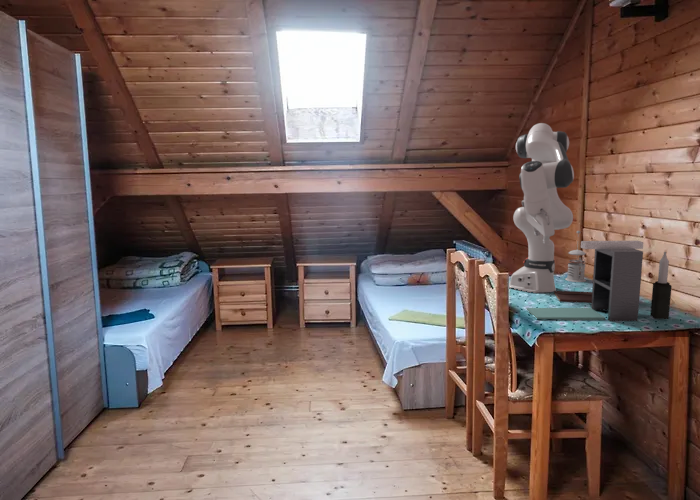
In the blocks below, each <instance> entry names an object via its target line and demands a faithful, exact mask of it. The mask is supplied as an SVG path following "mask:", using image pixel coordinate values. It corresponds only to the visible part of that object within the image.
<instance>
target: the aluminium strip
mask: <svg viewBox="0 0 700 500" xmlns="http://www.w3.org/2000/svg"><path fill="white" fill-rule="evenodd" d="M580 248H581V249H583V250H595V249H637V250H643V249H644V241H641V240H581V241H580Z"/></svg>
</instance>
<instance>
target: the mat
mask: <svg viewBox="0 0 700 500" xmlns="http://www.w3.org/2000/svg"><path fill="white" fill-rule="evenodd" d="M525 309H527V310H528V311H529V312H530V313H531V314H532V315H534V316H535V317H536V318H537V319H561V320H560V321H605V320H606V317H605V315H602V314H601V313H599V312H597V310H593V309H591V307H526V308H525ZM528 311H527V312H528ZM529 312H528V313H529ZM530 313H529V314H530ZM531 314H530V315H531ZM532 315H531V316H532ZM562 319H563V320H562Z"/></svg>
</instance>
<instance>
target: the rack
mask: <svg viewBox="0 0 700 500" xmlns="http://www.w3.org/2000/svg"><path fill="white" fill-rule="evenodd" d="M643 256H644V251H643V250H641V249H594V259H593V260H594V261H593V273H592V274H593V275H592V290H591V292H592V303H590V304H591V307H590V308H591V309H593V310H594V311H608V314H607V320H608V322H638V321H639V309H640V296H641V293H640V292H641V283H642V271H643V258H644V257H643Z"/></svg>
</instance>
